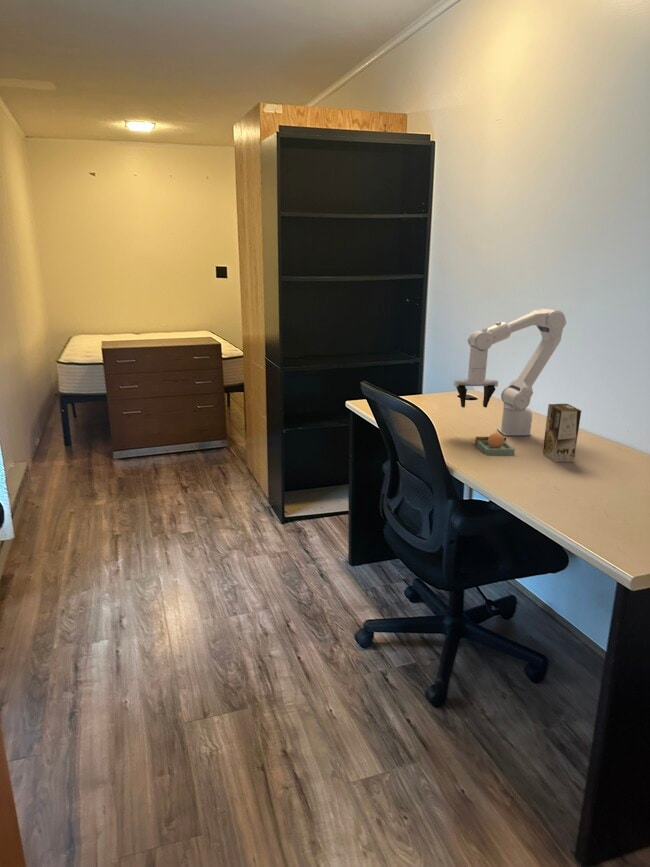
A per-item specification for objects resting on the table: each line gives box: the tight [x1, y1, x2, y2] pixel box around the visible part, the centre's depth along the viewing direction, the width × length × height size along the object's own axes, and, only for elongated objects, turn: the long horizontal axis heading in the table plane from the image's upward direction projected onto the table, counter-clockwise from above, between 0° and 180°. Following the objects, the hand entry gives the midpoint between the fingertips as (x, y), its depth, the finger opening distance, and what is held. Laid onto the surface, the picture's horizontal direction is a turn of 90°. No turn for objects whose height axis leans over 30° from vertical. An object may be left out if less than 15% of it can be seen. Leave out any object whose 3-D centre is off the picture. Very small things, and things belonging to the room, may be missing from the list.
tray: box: [476, 440, 515, 456], centre depth 189 cm, size 9×9×2 cm
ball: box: [488, 432, 504, 449], centre depth 188 cm, size 5×5×5 cm
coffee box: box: [542, 403, 582, 463], centre depth 181 cm, size 9×6×16 cm
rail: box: [474, 436, 508, 446], centre depth 194 cm, size 10×1×2 cm, turn 94°
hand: (473, 406), depth 202 cm, fingers open, 7 cm apart
